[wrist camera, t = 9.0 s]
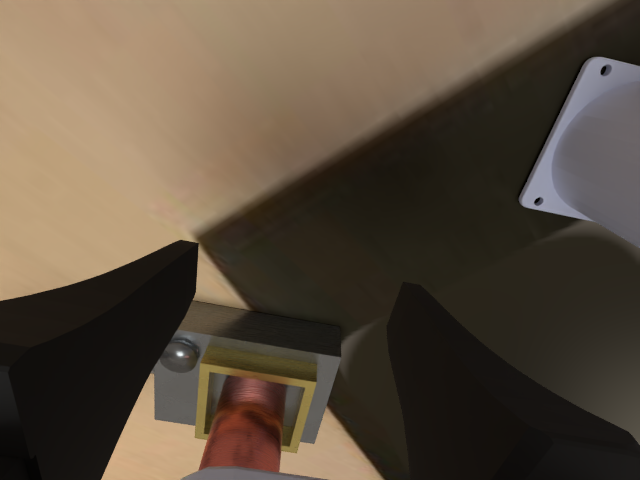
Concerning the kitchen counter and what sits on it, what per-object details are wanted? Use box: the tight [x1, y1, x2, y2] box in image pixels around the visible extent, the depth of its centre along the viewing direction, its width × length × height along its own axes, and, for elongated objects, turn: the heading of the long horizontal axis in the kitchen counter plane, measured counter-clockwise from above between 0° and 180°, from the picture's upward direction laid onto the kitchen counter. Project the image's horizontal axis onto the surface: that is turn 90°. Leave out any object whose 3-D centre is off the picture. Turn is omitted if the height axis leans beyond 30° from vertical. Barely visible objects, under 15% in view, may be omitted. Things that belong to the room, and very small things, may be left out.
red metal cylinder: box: [199, 375, 286, 472], centre depth 21 cm, size 4×4×8 cm
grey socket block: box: [151, 301, 341, 453], centre depth 25 cm, size 14×9×4 cm, turn 78°
